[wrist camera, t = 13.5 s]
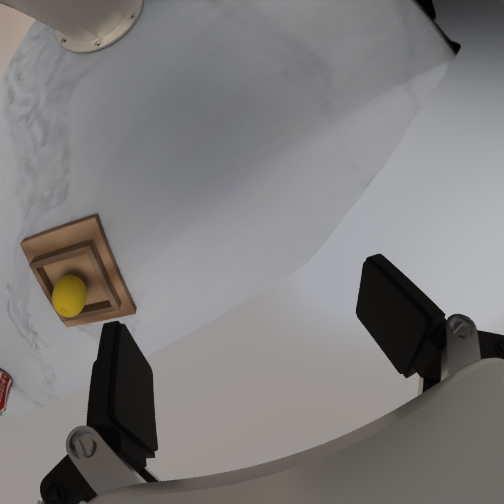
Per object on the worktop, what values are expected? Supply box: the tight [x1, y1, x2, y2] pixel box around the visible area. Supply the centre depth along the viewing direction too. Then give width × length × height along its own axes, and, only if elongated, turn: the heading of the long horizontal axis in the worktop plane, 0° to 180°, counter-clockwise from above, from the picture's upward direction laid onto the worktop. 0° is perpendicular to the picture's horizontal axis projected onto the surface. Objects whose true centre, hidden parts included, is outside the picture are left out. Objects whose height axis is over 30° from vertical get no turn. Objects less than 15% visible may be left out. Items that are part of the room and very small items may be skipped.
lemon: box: [52, 275, 87, 317], centre depth 34 cm, size 6×6×8 cm
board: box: [20, 214, 136, 327], centre depth 37 cm, size 18×15×4 cm
